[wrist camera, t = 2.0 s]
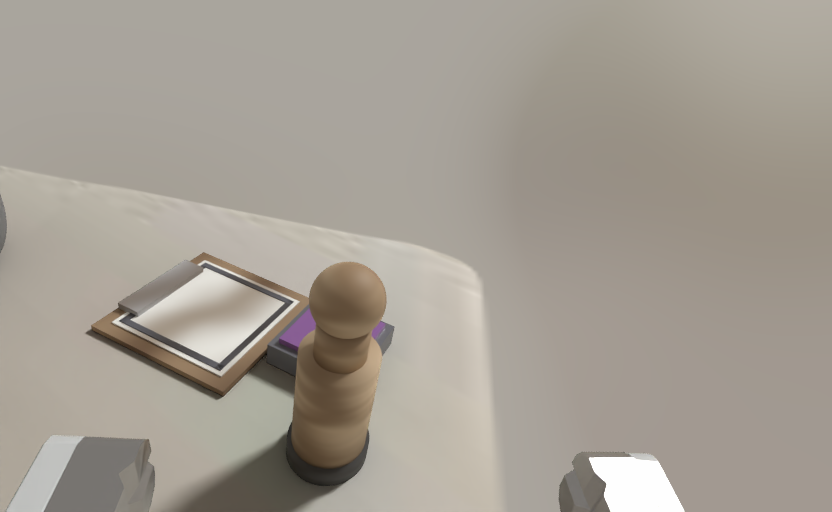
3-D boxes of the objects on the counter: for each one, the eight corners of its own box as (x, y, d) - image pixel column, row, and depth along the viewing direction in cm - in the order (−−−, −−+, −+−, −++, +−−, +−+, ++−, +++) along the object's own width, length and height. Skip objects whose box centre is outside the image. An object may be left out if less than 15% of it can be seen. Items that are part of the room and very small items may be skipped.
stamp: (269, 462, 28) (277, 276, 21) (314, 405, 32) (333, 229, 25) (342, 500, 27) (375, 318, 20) (379, 436, 31) (418, 263, 24)
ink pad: (266, 362, 34) (267, 339, 33) (316, 311, 39) (319, 289, 37) (349, 401, 32) (353, 379, 31) (390, 343, 37) (395, 322, 36)
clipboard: (92, 330, 33) (89, 319, 33) (203, 256, 41) (203, 247, 41) (223, 396, 31) (223, 385, 31) (314, 304, 39) (315, 295, 39)
